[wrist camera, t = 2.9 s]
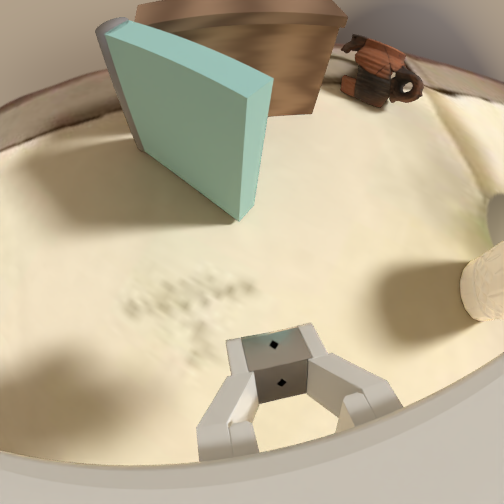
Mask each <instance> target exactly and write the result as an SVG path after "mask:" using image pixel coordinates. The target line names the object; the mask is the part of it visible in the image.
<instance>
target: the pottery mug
mask: <svg viewBox="0 0 504 504" xmlns="http://www.w3.org/2000/svg"><path fill="white" fill-rule="evenodd" d="M351 50H352V51H357V53H356V54H355V61H356V62H357V64H359V66H358V73H357V79H356V78H352V77H349V76H347V75H344V76H343V77H342V84H341V91H343V92H344V93H346V94H348V95H351V96H353V97H355V98H357V99H360V100H361V101H362V102H365V103H368V104H370V105H373V106H376V107H382V105H383V104H384V102H385V101H386V100H387V99H388V98H389V97H390V98H389V100H390V101H391V103H394V102H395V101H401V102H405V103H408V102H412V101H415V100H417V99H418V98H419V97H421V96H422V90H423V88H424V86H423V82H422V80H421V78H420V77H419V76H417V75H416V74H415V73H413V72H411V71H409V70H407V68H406V67H405V64H404V59H405V57H406V55H405V54H404V53H402V52H401V51H399V50H397V49H395V48H393V47H391V46H388V45H386V44H383V43H381V42H378V41H376V40H372V39H369V38H367V37H364V36H360V35H355V34H353V35H352V40H351V41H350V42H348V43H346V44H345V45H344V46H343V48H342V49H341V51H344V52H345V53H349V52H350V51H351ZM393 72H395V73H396V75H395V77H394V78H392V79H391V75H392V73H393ZM408 82H411V83H412V84H413V87H412V89H411V90H410V91H408V92H405V93H404V92H403V87H404V86H405V84H407V83H408Z"/></svg>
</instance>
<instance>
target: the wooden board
mask: <svg viewBox="0 0 504 504" xmlns="http://www.w3.org/2000/svg"><path fill="white" fill-rule="evenodd" d="M347 19H348V16H347V15H346V14H345V13H344V12H343V11H342V10H341V9H340V8H339V7H338V6H337V5H336V4H335V3H334V2H333V1H332V0H162V1H156V2H151V3H146V4H141V5H138V7H137V11H136V16H135V21H134V22H136V23H140V24H143V25H146V26H149V27H153V28H156V29H159V30H162V31H165V32H168V33H171V34H173V35H176V36H179V37H182V38H184V39H187V40H190V41H192V42H195V43H197V44H200V45H202V46H205V47H207V48H210V49H212V50H215V51H217V52H219V53H222V54H224V55H226V56H228V57H231V58H233V59H235V60H237V61H239V62H241V63H244V64H246V65H248V66H250V67H252V68H254V69H256V70H258V71H260V72H262V73H264V74H266V75H268V76H270V77H272V78H274V80H273V86H272V93H271V99H270V105H269V111H268V116H281V115H296V114H312V112H313V109H314V106H315V103H316V100H317V97H318V94H319V90H320V87H321V84H322V81H323V78H324V75H325V72H326V69H327V66H328V62H329V59H330V56H331V53H332V50H333V47H334V43H335V40H336V37H337V34H338V31H339V28H340V27H342V28H345V25H346V22H347Z"/></svg>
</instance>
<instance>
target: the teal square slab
mask: <svg viewBox="0 0 504 504" xmlns="http://www.w3.org/2000/svg"><path fill="white" fill-rule="evenodd" d="M95 33H96V36H97V39H98V42H99V45H100V48H101V51H102V54H103V57H104V60H105V63H106V66H107V69H108V72H109V74H110V77H111V80H112V83H113V86H114V88H115V91H116V94H117V96H118V99H119V102H120V104H121V107H122V110H123V112H124V115H125V118H126V120H127V123H128V125H129V128H130V130H131V133H132V135H133V138H134V140H135V143H136V145H137V148H138V149H139V150H140V151H144V152H146V153H148V154H149V155H150V156H152V157H153V158H154V159H156V160H157V161H159V162H160V163H161V164H163V165H164V166H165V167H167V168H168V169H169V170H171V171H172V172H173V173H175V174H176V175H177V176H179V177H180V178H181V179H183V180H184V181H185V182H187V183H188V184H190V185H191V186H192V187H194V188H195V189H196V190H198V191H199V192H200V193H202V194H203V195H204V196H206V197H207V198H208V199H210V200H211V201H212V202H214V203H215V204H216V205H217V206H219V207H220V208H221V209H223V210H224V211H225V212H227V213H228V214H229V215H231V216H232V217H233V218H235V219H236V220H237V221H240V220H241V219H242V218H243V217H244V216H245V214H246V213H247V212H248V211H249V210H250V209H251V208H252V207H253V206H254V201H255V194H256V188H257V182H258V175H259V169H260V162H261V156H262V149H263V143H264V137H265V130H266V124H267V118H268V111H269V105H270V99H271V93H272V86H273V80H274V78H272V77H270V76H268V75H266V74H264V73H262V72H260V71H258V70H256V69H254V68H252V67H250V66H248V65H246V64H244V63H241V62H239V61H237V60H235V59H233V58H231V57H228V56H226V55H224V54H222V53H219V52H217V51H215V50H212V49H210V48H207V47H205V46H202V45H200V44H197V43H195V42H192V41H190V40H187V39H184V38H182V37H179V36H176V35H173V34H171V33H168V32H165V31H162V30H159V29H156V28H153V27H149V26H146V25H143V24H140V23H136V22H132V21H129V20H128V19H127V18H125V17H119V18H115V19H111V20H109V21H106V22H105V23H103V24H101V25H100V26H99V27H98V28H97V29H96V31H95Z"/></svg>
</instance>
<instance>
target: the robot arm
mask: <svg viewBox="0 0 504 504" xmlns="http://www.w3.org/2000/svg"><path fill="white" fill-rule="evenodd" d="M226 348H227V354H228V359H229V365H230V371H231V376H227V378H226V379H225V381H224V383H223V384H222V386H221V388H220V389H219V391H218V393H217V394H216V396H215V398H214V399H213V401H212V403H211V404H210V406H209V408H208V409H207V411H206V413H205V414H204V416H203V417H202V419H201V421H200V422H199V424H198V426H197V427H196V429H197V441H198V452H199V462H193V463H181V464H166V465H99V464H84V463H73V462H64V461H56V460H48V459H42V458H36V457H30V456H25V455H20V454H15V453H10V452H6V451H2V450H0V504H504V352H503V353H502V354H500V355H499V356H497V357H496V358H494V359H493V360H491V361H490V362H488V363H486V364H485V365H483V366H482V367H480V368H478V369H477V370H475V371H473V372H472V373H470V374H468V375H467V376H465V377H463V378H461V379H460V380H458V381H456V382H454V383H452V384H450V385H449V386H447V387H445V388H443V389H441V390H439V391H437V392H435V393H433V394H431V395H429V396H427V397H425V398H423V399H421V400H419V401H417V402H415V403H412V404H410V405H408V406H406V407H403V406H402V404H401V402H400V401H399V399H398V398H397V396H396V394H395V393H394V391H393V389H392V388H391V386H390V385H389V383H388V381H387V380H385V379H383V378H380V377H378V376H376V375H374V374H372V373H370V372H368V371H366V370H364V369H363V368H361V367H359V366H357V365H355V364H353V363H351V362H349V361H347V360H345V359H343V358H341V357H339V356H337V355H335V354H333V353H330V354H328V352H327V350H326V349H325V347H324V345H323V343H322V341H321V339H320V337H319V335H318V333H317V331H316V330H315V328H314V326H313V324H312V323H307V324H303V325H299V326H297V327H296V326H295V327H291V328H286V329H282V330H277V331H273V332H269V333H263V334H258V335H252V336H246V337H241V339H240V338H236V339H229V340H226ZM305 393H307V395H309V396H310V397H311V398H313V399H314V400H315V401H316V402H318V403H319V404H320V405H322V406H323V407H325V408H326V409H327V410H329V411H330V412H331V413H333V414H334V415H335V416H337V417H338V418H339V420H338V424H337V428H336V432H335V433H334V434H331V435H328V436H325V437H321V438H318V439H314V440H311V441H307V442H304V443H300V444H296V445H292V446H288V447H284V448H279V449H275V450H270V451H266V452H261V453H259V449H258V445H257V441H256V437H255V433H254V429H253V425H252V422H253V419H254V417H255V415H256V412H257V410H258V407H259V404H261V403H266V402H270V401H274V400H278V399H282V398H287V397H291V396H296V395H300V394H305Z"/></svg>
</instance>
